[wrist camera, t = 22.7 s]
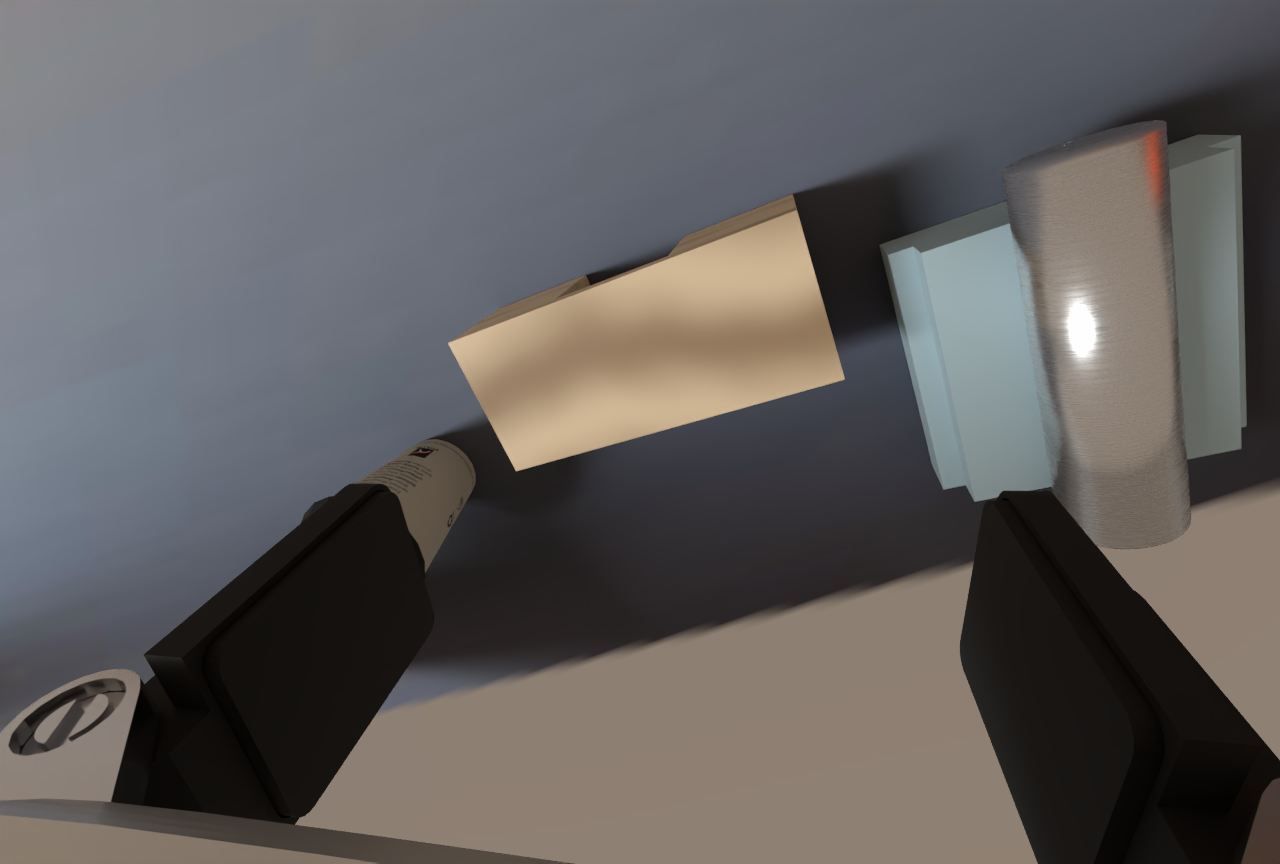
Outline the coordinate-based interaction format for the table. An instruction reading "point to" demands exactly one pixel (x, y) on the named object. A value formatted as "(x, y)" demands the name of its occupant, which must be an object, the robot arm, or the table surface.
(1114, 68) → the table surface
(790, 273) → the beam
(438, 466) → the coffee cup
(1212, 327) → the v block
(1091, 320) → the axle
